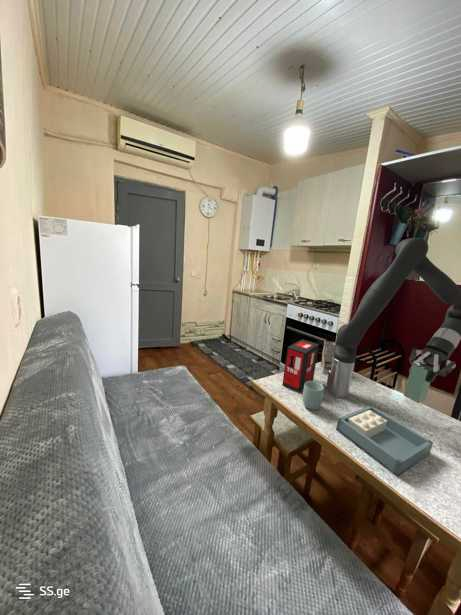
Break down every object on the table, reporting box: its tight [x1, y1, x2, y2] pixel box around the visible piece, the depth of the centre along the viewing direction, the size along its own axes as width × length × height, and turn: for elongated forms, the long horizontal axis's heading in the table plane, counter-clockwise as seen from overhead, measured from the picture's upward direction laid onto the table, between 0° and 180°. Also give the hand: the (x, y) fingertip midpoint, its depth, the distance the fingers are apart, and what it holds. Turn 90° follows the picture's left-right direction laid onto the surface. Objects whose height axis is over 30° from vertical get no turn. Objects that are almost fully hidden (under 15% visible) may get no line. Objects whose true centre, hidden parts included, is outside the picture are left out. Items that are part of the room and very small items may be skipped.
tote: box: [335, 405, 434, 477], centre depth 90 cm, size 22×20×5 cm
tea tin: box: [403, 363, 434, 404], centre depth 93 cm, size 5×5×13 cm
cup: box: [302, 380, 325, 411], centre depth 107 cm, size 8×8×10 cm
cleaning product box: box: [281, 339, 320, 394], centre depth 124 cm, size 16×9×20 cm, turn 141°
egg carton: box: [348, 410, 387, 438], centre depth 94 cm, size 7×13×5 cm, turn 119°
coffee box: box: [320, 340, 336, 375], centre depth 141 cm, size 9×6×16 cm
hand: (419, 377), depth 92 cm, fingers closed on tea tin, 5 cm apart
